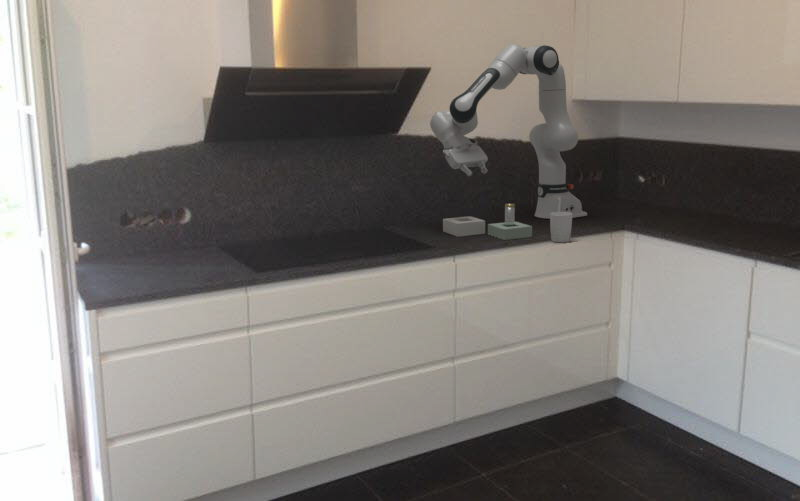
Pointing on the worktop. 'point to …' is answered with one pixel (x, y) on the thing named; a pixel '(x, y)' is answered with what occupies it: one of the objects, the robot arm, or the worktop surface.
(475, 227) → the grey block with hole
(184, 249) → the worktop surface
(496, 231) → the socket block
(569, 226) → the white cup
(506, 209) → the silver gold-banded cylinder
